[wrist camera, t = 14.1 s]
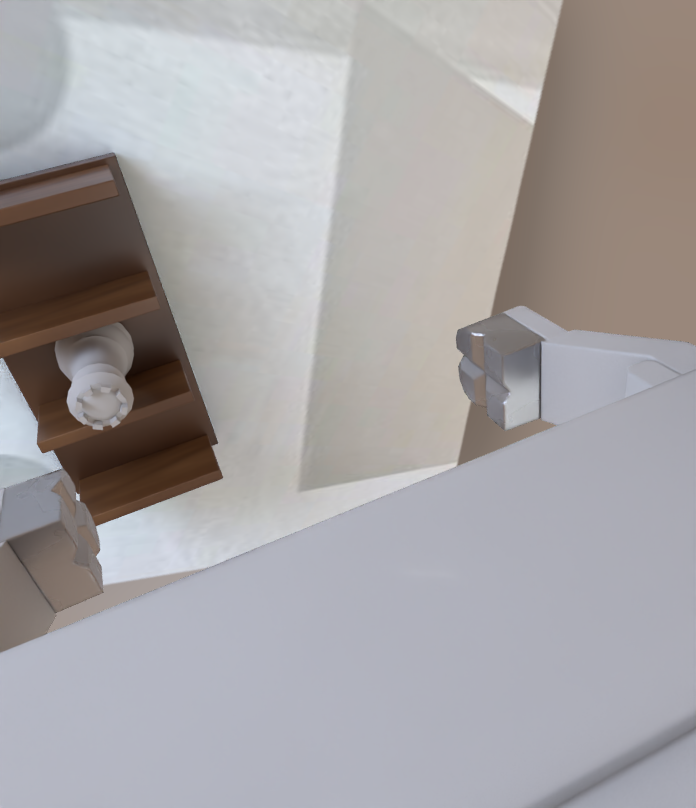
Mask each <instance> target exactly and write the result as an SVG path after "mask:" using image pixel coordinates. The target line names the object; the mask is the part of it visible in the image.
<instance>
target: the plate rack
mask: <svg viewBox="0 0 696 808" xmlns="http://www.w3.org/2000/svg"><path fill="white" fill-rule="evenodd" d="M117 322H118V323H120V324H122V325H123V326H124V328H125V329H126V330H127V331H128V333H129V334H130V335H131V339H132V343H133V347H134V350H133V352H134V357H133V362H132V366H131V368H130V370H129V371H128V373H127V374H126V375H125V380H126V382H127V383H128V385H129V386H130V387H131V389H132V393H133V397H134V400H133V405H132V409H131V410H130V412H129V413H128V414H127V416H126V417H125V418H124V419H122V420H120V421H121V423H120V424H118V425H116V426H115V427H113V428H112V426H111V425H109V426H104V427H103V430H97V429H93V426H89V425H87V424H85V425H83V424H82V423H81V422H80V421H78V420H77V419H76V418H75V417H74V416H73V415H72V414H71V413H70V411H69V407H68V404H67V397H68V391H69V389H70V388H71V385H72V381H70V380H69V378H68V377H67V376H66V375H65V374H64V373H63V372H62V371H61V370H60V368H59V364H58V361H57V358H56V353H55V344H56V341H58V340H61V339H65V338H68V337H71V336H74V335H78V334H81V333H84V332H87V331H91V330H94V329H97V328H100V327H104V326H107V325H110V324H114V323H117ZM0 358H3V359H4V361H5V363H6V365H7V366H8V368H9V370H10V372H11V374H12V375H13V377H14V379H15V381H16V383H17V385H18V386H19V388H20V390H21V392H22V394H23V396H24V397H25V399H26V401H27V403H28V405H29V407H30V408H31V410H32V412H33V414H34V416H35V417H36V419H37V421H38V434H37V445H38V447H39V448H40V450H41V452H42V453H46V452H49V451H51V450H54V452H55V454H56V456H57V458H58V459H59V461H60V463H61V465H62V467H63V469H64V470H65V471H66V472H67V473H68V474H69V476H70V478H71V479H72V481H73V483H74V484H75V488H76V492H77V494H80V502H82V503H84V504H86V506H87V508H88V510H89V512H90V514H91V516H92V519H93V521H94V523H95V526H98V525H100V524H103V523H106V522H108V521H111V520H114V519H116V518H119V517H122V516H124V515H127V514H130V513H132V512H135V511H138V510H140V509H143V508H146V507H148V506H151V505H154V504H156V503H159V502H162V501H164V500H167V499H169V498H172V497H175V496H177V495H180V494H183V493H185V492H188V491H191V490H193V489H196V488H199V487H201V486H204V485H207V484H209V483H212V482H215V481H217V480H220V479H222V478H223V476H222V473H221V470H220V468H219V465H218V462H217V459H216V457H215V454H214V451H213V448H212V445H215V444H218V441H217V438H216V436H215V433H214V430H213V427H212V424H211V422H210V419H209V416H208V413H207V410H206V408H205V405H204V402H203V399H202V396H201V394H200V391H199V388H198V385H197V382H196V380H195V377H194V374H193V371H192V368H191V366H190V363H189V360H188V357H187V354H186V352H185V349H184V346H183V343H182V340H181V338H180V335H179V332H178V329H177V326H176V324H175V321H174V318H173V315H172V312H171V310H170V307H169V304H168V301H167V298H166V296H165V293H164V290H163V287H162V284H161V282H160V279H159V276H158V273H157V270H156V268H155V265H154V262H153V259H152V256H151V254H150V251H149V248H148V245H147V242H146V240H145V237H144V234H143V231H142V228H141V226H140V223H139V220H138V217H137V214H136V212H135V209H134V206H133V203H132V200H131V198H130V195H129V192H128V189H127V186H126V184H125V181H124V178H123V175H122V172H121V170H120V167H119V164H118V161H117V158H116V156H115V154H114V153H110V154H106V155H102V156H98V157H94V158H90V159H86V160H82V161H78V162H73V163H69V164H65V165H61V166H57V167H53V168H49V169H45V170H41V171H37V172H33V173H29V174H25V175H21V176H17V177H13V178H9V179H5V180H1V181H0Z"/></svg>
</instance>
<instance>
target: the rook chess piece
mask: <svg viewBox="0 0 696 808" xmlns="http://www.w3.org/2000/svg"><path fill="white" fill-rule="evenodd" d="M133 350H134V347H133V343H132V339H131V335H130V334H129V333H128V331H127V330H126V329H125V328H124V326H123V325H122V324H120V323H118V322H117V323H114V324H110V325H107V326H104V327H100V328H97V329H94V330H91V331H87V332H84V333H81V334H78V335H74V336H71V337H68V338H65V339H61V340H58V341H56V344H55V353H56V358H57V361H58V364H59V368H60V370H61V371H62V372H63V373H64V374H65V375H66V376H67V377H68V378H69V380H70V381H72V385H71V388H70V389H69V391H68V397H67V404H68V407H69V411H70V413H71V414H72V415H73V416H74V417H75V418H76V419H77V420H78V421H80V422H81V423H82V424H83V425H85V424H87V425H89V426H93V429H97V430H103V427H104V426H109V425H111V426H112V428H113V427H115V426H116V425H118V424H120V423H121V421H120V420H122V419H124V418H125V417H126V416H127V414H128V413H129V412H130V410H131V409H132V405H133V400H134V397H133V393H132V389H131V387H130V386H129V385H128V383H127V382H126V380H125V375H126V374H127V373H128V371H129V370H130V368H131V366H132V362H133V357H134V352H133Z"/></svg>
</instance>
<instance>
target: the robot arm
mask: <svg viewBox="0 0 696 808" xmlns="http://www.w3.org/2000/svg"><path fill="white" fill-rule="evenodd" d="M456 344H457V349H458V350H459V351H460V352H461V353H462V354H464V356H463V358H462V360H461V362H460V364H459V366H458V368H459V377H460V382H461V384H462V387H463V390H464V392H465V393H466V395H467V396H468V398H469V399H470V400H471V401H472V402H473V403H474V404H475V405H478V406H482V407H487V415H488V416H489V417H490V418H491V419H492V420H493V421H494V422H495V423H496V424H498V425H499V426H500V427H501V428H502V429H503V430H504V431H507V430H510V429H513V428H515V427H518V426H521V425H523V424H526V423H529V422H532V421H534V420H537V419H540V418H541V420H543V421H546V422H549V423H552V424H555V425H557V426H555V427H552V428H550V429H547V430H545V431H543V432H540V433H538V434H535V435H533V436H530V437H528V438H525V439H523V440H521V441H518V442H516V443H513V444H511V445H508V446H506V447H503V448H501V449H499V450H496V451H494V452H491V453H489V454H486V455H484V456H481V457H479V458H476V459H474V460H471V461H469V462H467V463H464V464H462V465H459V466H457V467H454V468H452V469H449V470H447V471H444V472H442V473H440V474H437V475H435V476H432V477H430V478H427V479H425V480H422V481H420V482H418V483H415V484H413V485H410V486H408V487H405V488H403V489H400V490H398V491H395V492H393V493H391V494H388V495H386V496H383V497H381V498H378V499H376V500H373V501H371V502H369V503H366V504H364V505H361V506H359V507H356V508H354V509H351V510H349V511H346V512H344V513H342V514H339V515H337V516H334V517H332V518H329V519H327V520H324V521H322V522H320V523H317V524H315V525H312V526H310V527H307V528H305V529H302V530H300V531H297V532H295V533H293V534H290V535H288V536H285V537H283V538H280V539H278V540H275V541H273V542H270V543H268V544H266V545H263V546H261V547H258V548H256V549H253V550H251V551H248V552H246V553H244V554H241V555H239V556H236V557H234V558H231V559H229V560H226V561H224V562H221V563H219V564H217V565H214V566H212V567H209V568H207V569H205V570H202V571H199V572H197V573H195V574H192V575H190V576H187V577H185V578H182V579H180V580H178V581H175V582H173V583H170V584H168V585H165V586H163V587H160V588H158V589H155V590H153V591H150V592H148V593H145V594H143V595H141V596H138V597H136V598H133V599H131V600H128V601H126V602H123V603H121V604H119V605H116V606H114V607H111V608H109V609H106V610H104V611H101V612H99V613H97V614H94V615H92V616H89V617H87V618H84V619H82V620H79V621H77V622H74V623H72V624H70V625H67V626H65V627H62V628H60V629H57V630H55V631H53V632H50V633H47V631H48V630H49V628H50V626H51V624H52V623H53V621H54V619H55V617H56V614H55V613H57V612H59V611H62V610H64V609H66V608H69V607H71V606H73V605H76V604H78V603H80V602H83V601H84V600H87V599H90V598H92V597H94V596H97V595H99V594H101V593H103V581H102V567H101V565H100V563H99V561H98V560H97V558H96V556H97V554H98V553H99V551H100V543H99V537H98V534H97V530H96V526H95V523H94V521H93V519H92V516H91V514H90V512H89V510H88V508H87V506H86V504H84V503H82V502H80V501H78V500H76V488H75V484H74V483H73V481H72V479H71V478H70V476H69V474H68V473H67V472H66V471H65V470H64V469H60V470H57V471H54V472H51V473H48V474H45V475H42V476H39V477H36V478H33V479H30V480H27V481H24V482H21V483H18V484H15V485H12V486H9V487H7V488H2V489H0V808H696V346H694V345H692V344H690V343H688V342H682V341H672V340H664V339H654V338H646V337H636V336H628V335H619V334H610V333H600V332H591V331H582V330H573V331H570V332H568V331H566V330H565V329H563V328H561V327H559V326H558V325H556V324H554V323H553V322H551V321H549V320H547V319H546V318H544V317H542V316H540V315H539V314H537V313H536V312H534V311H532V310H531V309H529V308H527V307H525V306H518V307H515V308H512V309H510V310H507V311H505V312H502V313H500V314H497V315H495V316H492V317H490V318H487V319H484V320H482V321H479V322H477V323H474V324H471V325H469V326H466V327H464V328H461V329H459V330H458V331H457V336H456Z"/></svg>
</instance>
